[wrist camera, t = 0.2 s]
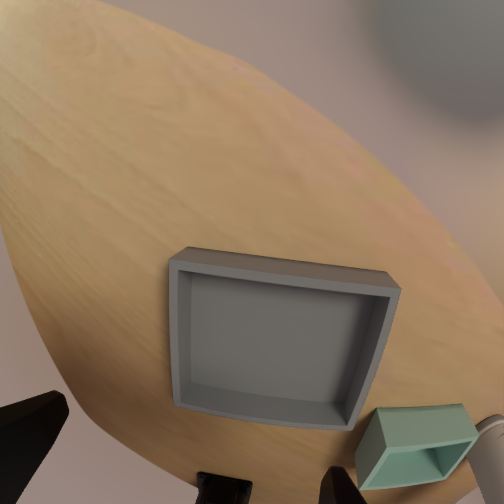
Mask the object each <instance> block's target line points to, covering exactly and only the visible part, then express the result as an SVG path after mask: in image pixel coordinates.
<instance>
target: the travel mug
mask: <svg viewBox="0 0 504 504" xmlns="http://www.w3.org/2000/svg"><path fill="white" fill-rule="evenodd" d="M476 429H477V431H478V433H479V435H480V436H479V437H478V439H477V440H476V442H475V443H474V444H473V446H472V447H471V448H470V450H469V451H468V452H467V454H466V456H467V459H468V461H469V463H470V466H471V468H472V470H473V473H474V475H475V478H476V480H477V483H478V485H479V487H480V490H481V493H482V495H483V498H484V500H485V503H486V504H504V416H502V415H494V416H491V417H489V418H487V419H485V420H484V421H482V422H481V423H479V424H478V425H477V426H476Z"/></svg>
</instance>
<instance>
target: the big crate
mask: <svg viewBox="0 0 504 504" xmlns="http://www.w3.org/2000/svg"><path fill="white" fill-rule="evenodd" d="M400 293H401V288H400V286H399V285H398V284H397V283H396V282H395V281H394V280H393V279H392V277H391V276H390V275H389V274H388V273H387V272H384V271H376V270H368V269H360V268H352V267H344V266H336V265H328V264H320V263H312V262H304V261H296V260H289V259H281V258H273V257H265V256H257V255H249V254H241V253H234V252H226V251H218V250H210V249H203V248H195V247H186V248H185V249H183V250H182V251H180V252H179V253H177V254H176V255H174V256H173V257H171V258H170V259H169V328H170V355H171V374H172V389H173V402H174V406H176V407H180V408H184V409H188V410H193V411H197V412H201V413H206V414H211V415H215V416H220V417H226V418H231V419H236V420H242V421H248V422H255V423H262V424H269V425H277V426H286V427H295V428H307V429H320V430H341V431H352V430H353V428H354V426H355V423H356V421H357V419H358V416H359V414H360V412H361V409H362V407H363V405H364V402H365V400H366V397H367V395H368V392H369V390H370V387H371V385H372V382H373V379H374V377H375V374H376V371H377V368H378V365H379V363H380V360H381V357H382V354H383V351H384V348H385V345H386V342H387V338H388V335H389V332H390V329H391V325H392V322H393V319H394V315H395V311H396V308H397V304H398V300H399V297H400Z"/></svg>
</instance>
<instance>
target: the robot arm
mask: <svg viewBox="0 0 504 504" xmlns="http://www.w3.org/2000/svg"><path fill="white" fill-rule="evenodd" d="M68 415H69V408H68V405H67V402H66V398H65V396H64V395H63V394H62V393H60V392H58V391H56V390H53V391H50V392H47V393H44V394H41V395H38V396H35V397H32V398H29V399H26V400H23V401H20V402H16V403H13V404H10V405H7V406H4V407H0V504H16V502H17V501H18V499H19V497H20V496H21V494H22V492H23V491H24V489H25V488H26V486H27V484H28V483H29V481H30V480H31V478H32V476H33V475H34V473H35V472H36V470H37V469H38V467H39V466H40V464H41V463H42V461H43V460H44V458H45V457H46V455H47V454H48V452H49V450H50V449H51V447H52V446H53V444H54V442H55V441H56V439H57V436H58V435H59V433H60V431H61V429H62V427H63V425H64V423H65V421H66V419H67V417H68ZM252 485H253V483H252V482H250V481H244V480H238V479H232V478H226V477H221V476H216V475H212V474H207V473H203V472H199V473H198V489H199V494H198V497H197V500H196V503H195V504H248V503H249V499H250V494H251V490H252ZM319 504H367V503H366V501H365V500H364V498H363V496H362V495H361V493H360V492H359V490H358V489H357V487H356V486H355V484H354V483H353V481H352V480H351V478H350V477H349V475H348V473H347V472H346V470H345V469H344V468H343V467H337V466H331V467H330V468H329V469H328V471H327V472H326V474H325V476H324V477H323V479H322V481H321V486H320V495H319Z"/></svg>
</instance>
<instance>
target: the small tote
mask: <svg viewBox="0 0 504 504" xmlns="http://www.w3.org/2000/svg"><path fill="white" fill-rule="evenodd" d="M479 436H480V435H479V433H478V431H477V429H476V427H475V426H474V424H473V422H472V420H471V418H470V417H469V415H468V413H467V411H466V410H465V408H464V406H463V404H453V405H442V406H428V407H405V408H376V410H375V412H374V415H373V417H372V419H371V421H370V423H369V425H368V427H367V429H366V431H365V433H364V435H363V437H362V439H361V441H360V443H359V445H358V447H357V449H356V451H355V453H354V456H355V464H356V472H357V481H358V490H373V489H386V488H396V487H404V486H411V485H418V484H424V483H430V482H436V481H441V480H445V479H446V478H447V477H448V476H449V475H450V474H451V472H452V471H453V470H454V469H455V468H456V466H457V465H458V464H459V463H460V461H461V460H462V459H463V458H464V456H465V455H466V454H467V452H468V451H469V450H470V448H471V447H472V446H473V444H474V443H475V442H476V440H477V439H478V437H479Z"/></svg>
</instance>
